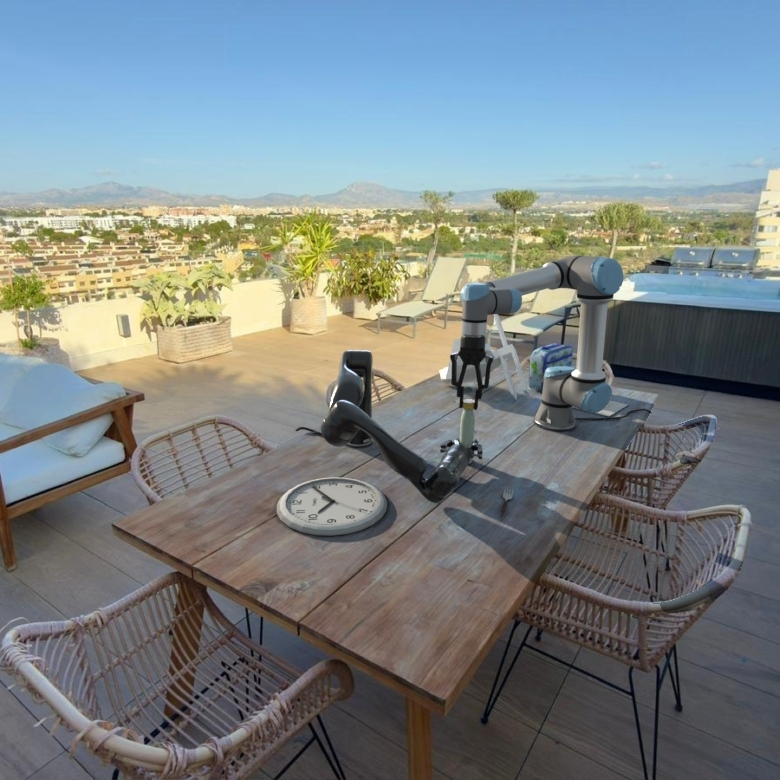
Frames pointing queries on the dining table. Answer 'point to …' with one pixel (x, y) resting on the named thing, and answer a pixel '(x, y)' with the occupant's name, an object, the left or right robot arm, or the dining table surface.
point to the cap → (468, 404)
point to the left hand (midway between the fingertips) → (468, 440)
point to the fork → (506, 497)
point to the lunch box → (547, 362)
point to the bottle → (467, 428)
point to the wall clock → (331, 506)
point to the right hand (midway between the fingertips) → (468, 407)
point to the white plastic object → (499, 357)
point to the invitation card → (611, 408)
